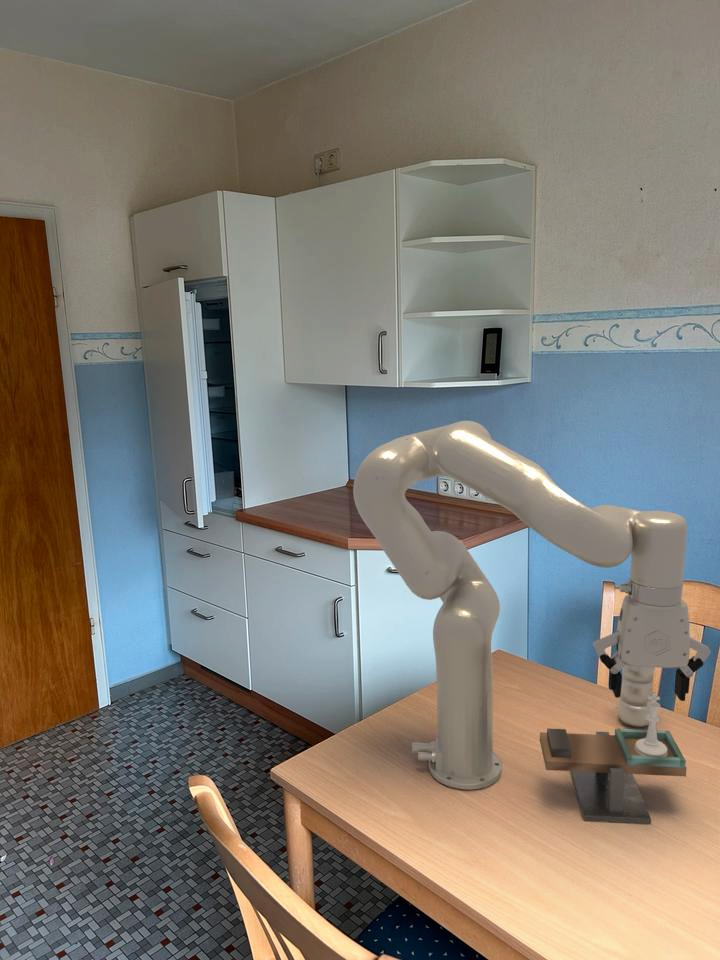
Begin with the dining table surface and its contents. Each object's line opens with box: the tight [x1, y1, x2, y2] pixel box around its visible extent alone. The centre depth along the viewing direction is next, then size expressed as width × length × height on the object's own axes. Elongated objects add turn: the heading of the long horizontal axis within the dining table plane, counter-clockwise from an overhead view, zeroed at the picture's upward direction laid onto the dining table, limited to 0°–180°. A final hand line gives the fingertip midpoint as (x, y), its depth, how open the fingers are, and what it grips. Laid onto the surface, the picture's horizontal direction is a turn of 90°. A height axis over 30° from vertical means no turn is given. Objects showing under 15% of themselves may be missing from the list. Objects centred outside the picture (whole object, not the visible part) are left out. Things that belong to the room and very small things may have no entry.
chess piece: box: [635, 691, 668, 757], centre depth 114 cm, size 5×5×10 cm
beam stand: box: [569, 731, 652, 825], centre depth 117 cm, size 10×13×8 cm
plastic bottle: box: [617, 665, 656, 728], centre depth 138 cm, size 6×7×20 cm
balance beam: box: [539, 728, 687, 777], centre depth 116 cm, size 21×9×4 cm, turn 83°
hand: (647, 695), depth 113 cm, fingers open, 9 cm apart
